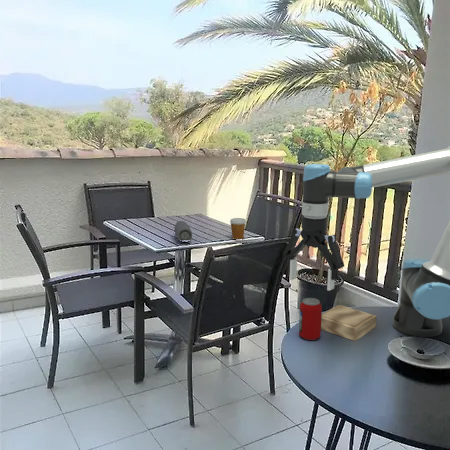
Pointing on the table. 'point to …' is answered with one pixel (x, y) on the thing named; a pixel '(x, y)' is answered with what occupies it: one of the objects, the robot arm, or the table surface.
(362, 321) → the square tray
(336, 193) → the robot arm
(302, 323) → the beverage can
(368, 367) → the table surface
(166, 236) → the table surface
